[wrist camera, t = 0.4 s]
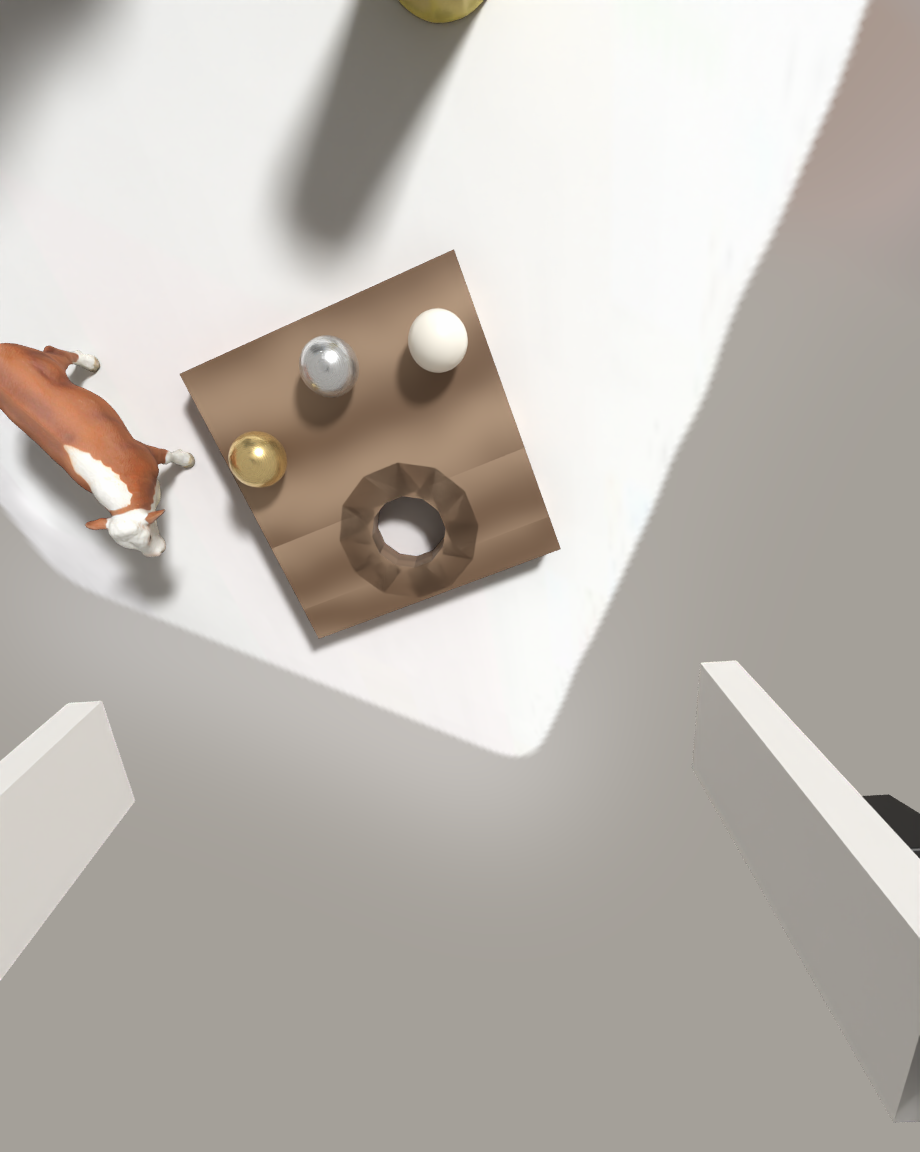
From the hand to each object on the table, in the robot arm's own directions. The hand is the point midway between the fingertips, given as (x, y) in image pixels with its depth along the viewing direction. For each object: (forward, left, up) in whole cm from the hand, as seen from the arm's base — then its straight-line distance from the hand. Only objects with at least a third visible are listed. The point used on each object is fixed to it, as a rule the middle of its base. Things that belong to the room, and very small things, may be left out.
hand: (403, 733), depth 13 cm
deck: (-4, -3, -27) cm, 27 cm away
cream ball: (-9, +3, -22) cm, 24 cm away
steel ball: (-10, -3, -22) cm, 25 cm away
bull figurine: (-11, -17, -27) cm, 33 cm away
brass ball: (-7, -9, -22) cm, 25 cm away
